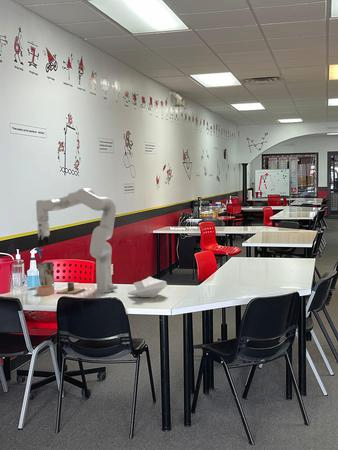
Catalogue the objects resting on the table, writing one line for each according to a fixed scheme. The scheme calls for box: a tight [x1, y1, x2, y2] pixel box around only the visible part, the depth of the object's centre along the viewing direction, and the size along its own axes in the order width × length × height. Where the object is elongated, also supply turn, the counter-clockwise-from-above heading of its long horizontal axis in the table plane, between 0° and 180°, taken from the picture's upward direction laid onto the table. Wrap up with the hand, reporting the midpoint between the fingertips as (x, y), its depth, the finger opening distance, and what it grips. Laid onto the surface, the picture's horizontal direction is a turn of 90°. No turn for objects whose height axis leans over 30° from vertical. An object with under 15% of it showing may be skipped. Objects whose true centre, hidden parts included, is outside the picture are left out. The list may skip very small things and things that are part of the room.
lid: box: [56, 281, 86, 295], centre depth 367 cm, size 13×13×6 cm
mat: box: [54, 289, 88, 296], centre depth 367 cm, size 15×15×1 cm
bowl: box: [35, 285, 55, 297], centre depth 363 cm, size 10×10×5 cm
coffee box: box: [36, 261, 55, 286], centre depth 394 cm, size 9×6×16 cm
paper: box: [127, 276, 168, 298], centre depth 346 cm, size 25×24×12 cm
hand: (43, 244), depth 380 cm, fingers open, 9 cm apart
